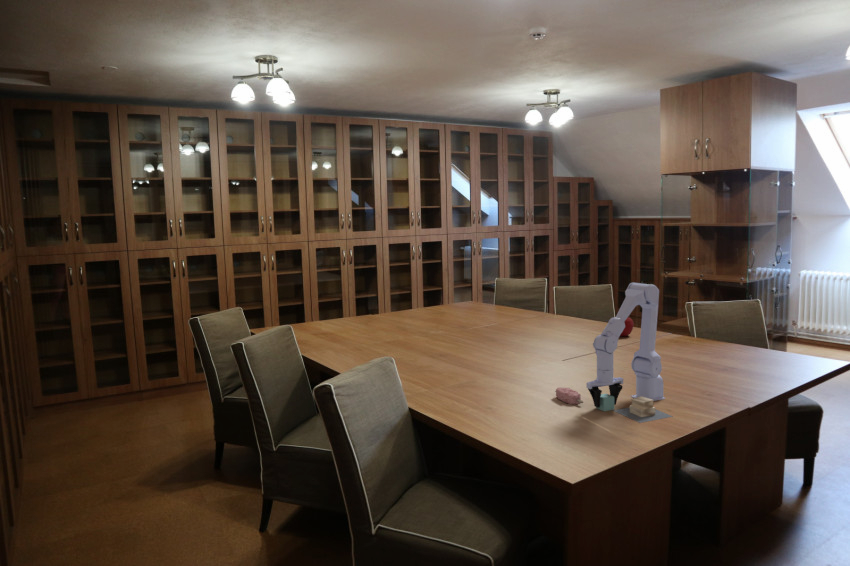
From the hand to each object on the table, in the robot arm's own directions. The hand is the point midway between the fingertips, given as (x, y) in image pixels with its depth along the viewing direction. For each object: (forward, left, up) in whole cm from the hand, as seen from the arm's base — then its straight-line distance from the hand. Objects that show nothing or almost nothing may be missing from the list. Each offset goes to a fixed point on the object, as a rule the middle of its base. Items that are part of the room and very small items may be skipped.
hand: (605, 405), depth 213 cm
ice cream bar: (+6, -13, -2) cm, 14 cm away
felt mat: (-8, +10, -1) cm, 13 cm away
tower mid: (-8, +10, +1) cm, 13 cm away
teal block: (0, 0, -2) cm, 2 cm away
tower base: (-8, +10, -1) cm, 13 cm away
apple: (-87, -97, -2) cm, 130 cm away
